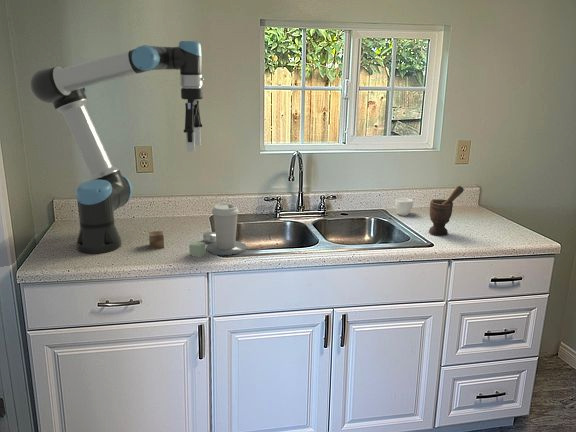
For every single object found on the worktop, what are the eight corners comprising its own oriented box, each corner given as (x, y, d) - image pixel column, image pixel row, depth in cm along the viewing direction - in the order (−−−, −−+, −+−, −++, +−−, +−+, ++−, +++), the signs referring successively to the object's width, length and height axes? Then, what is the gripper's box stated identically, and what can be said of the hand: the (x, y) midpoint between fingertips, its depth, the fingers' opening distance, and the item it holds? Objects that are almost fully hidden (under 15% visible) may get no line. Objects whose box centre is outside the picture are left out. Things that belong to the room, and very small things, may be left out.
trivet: (204, 255, 185) (204, 253, 185) (209, 242, 198) (209, 240, 198) (244, 255, 185) (244, 253, 185) (247, 242, 198) (247, 240, 198)
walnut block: (149, 249, 190) (149, 236, 189) (149, 244, 195) (148, 231, 194) (164, 248, 192) (163, 235, 190) (163, 243, 196) (163, 230, 195)
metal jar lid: (202, 243, 197) (202, 236, 196) (204, 239, 202) (204, 231, 201) (215, 243, 197) (215, 236, 196) (217, 239, 202) (217, 231, 201)
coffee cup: (235, 252, 186) (234, 210, 182) (209, 249, 188) (207, 209, 184) (242, 243, 195) (242, 203, 191) (217, 241, 197) (216, 202, 193)
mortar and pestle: (452, 230, 216) (458, 182, 210) (460, 236, 208) (466, 187, 202) (424, 230, 216) (429, 182, 210) (431, 237, 207) (436, 187, 202)
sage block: (189, 255, 185) (189, 244, 184) (195, 251, 188) (195, 241, 187) (199, 257, 183) (199, 246, 182) (205, 253, 187) (205, 242, 186)
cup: (396, 216, 234) (397, 201, 232) (391, 210, 243) (392, 196, 241) (413, 216, 234) (414, 202, 232) (408, 210, 243) (409, 196, 241)
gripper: (196, 89, 173) (199, 154, 179) (207, 85, 197) (209, 142, 203) (173, 89, 173) (176, 153, 179) (187, 85, 197) (189, 142, 203)
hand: (194, 148), depth 191 cm, fingers open, 13 cm apart
